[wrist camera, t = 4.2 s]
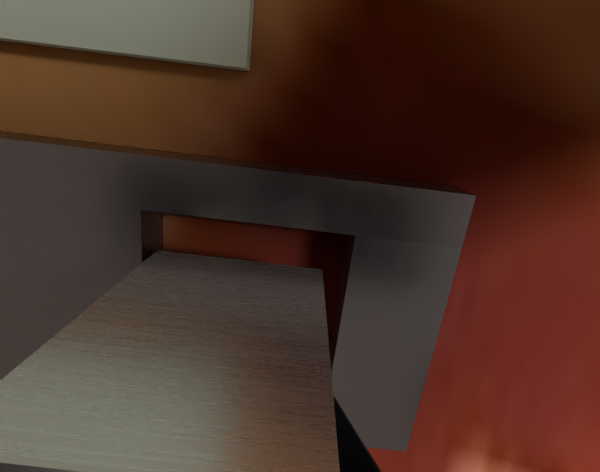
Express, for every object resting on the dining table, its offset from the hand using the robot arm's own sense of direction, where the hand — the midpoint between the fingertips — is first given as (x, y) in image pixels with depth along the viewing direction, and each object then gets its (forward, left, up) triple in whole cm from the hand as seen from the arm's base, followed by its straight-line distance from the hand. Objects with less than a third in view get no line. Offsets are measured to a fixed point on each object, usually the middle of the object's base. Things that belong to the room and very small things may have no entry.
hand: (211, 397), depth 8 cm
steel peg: (0, 0, -3) cm, 3 cm away
